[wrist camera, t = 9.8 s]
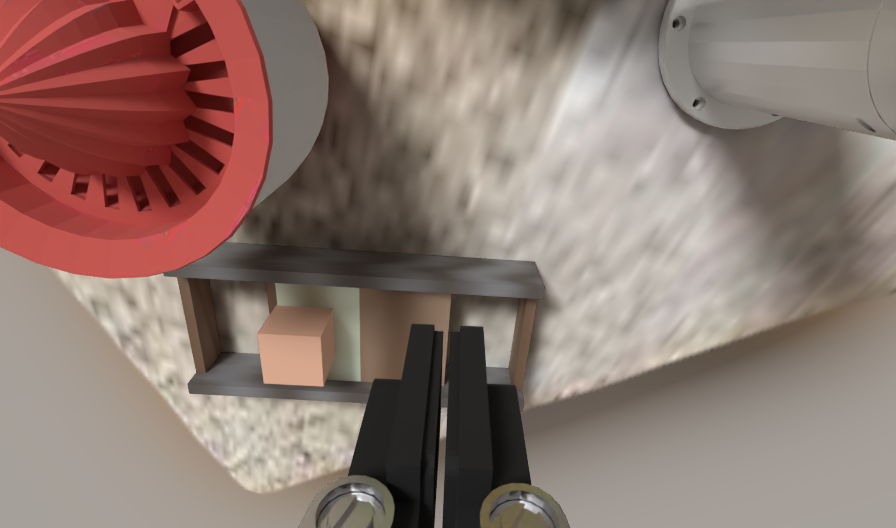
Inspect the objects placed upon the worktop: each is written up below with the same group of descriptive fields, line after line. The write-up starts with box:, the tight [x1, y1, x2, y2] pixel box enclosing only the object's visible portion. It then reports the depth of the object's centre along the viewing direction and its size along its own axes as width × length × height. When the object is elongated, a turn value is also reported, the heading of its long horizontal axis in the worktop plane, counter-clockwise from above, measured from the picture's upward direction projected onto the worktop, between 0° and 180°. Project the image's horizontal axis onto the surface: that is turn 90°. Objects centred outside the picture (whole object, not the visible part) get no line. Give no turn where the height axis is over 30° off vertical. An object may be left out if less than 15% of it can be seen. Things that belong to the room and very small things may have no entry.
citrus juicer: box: [0, 0, 329, 278], centre depth 23 cm, size 16×17×20 cm
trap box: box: [164, 242, 545, 412], centre depth 39 cm, size 28×12×4 cm, turn 86°
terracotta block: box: [257, 305, 335, 387], centre depth 36 cm, size 4×4×4 cm
